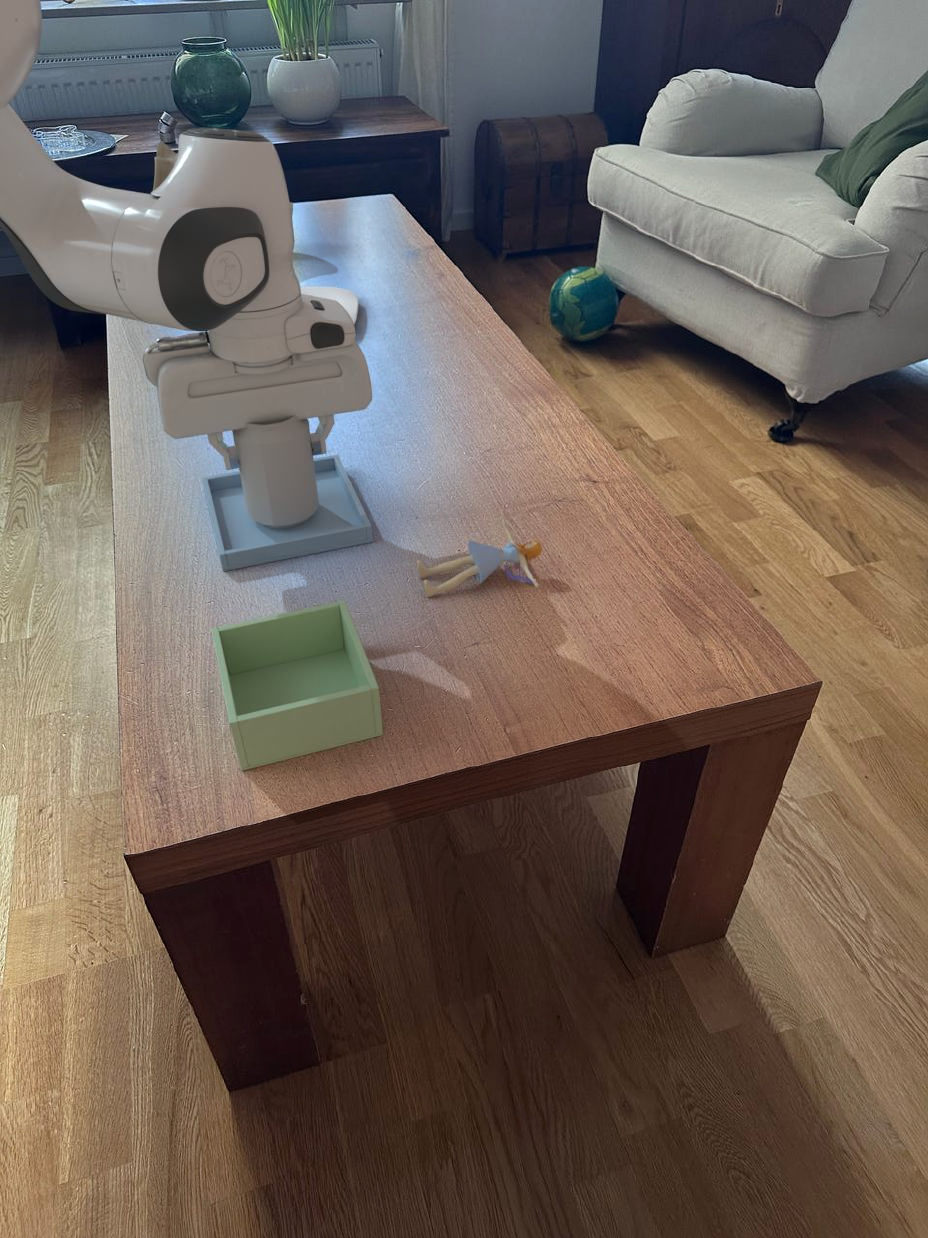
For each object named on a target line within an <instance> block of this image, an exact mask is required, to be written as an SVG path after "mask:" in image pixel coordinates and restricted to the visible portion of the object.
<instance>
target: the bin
mask: <svg viewBox="0 0 928 1238" xmlns="http://www.w3.org/2000/svg"><path fill="white" fill-rule="evenodd" d="M348 607H349V606H348V605H347V602H346V600H344V599H343V600H339V601H334V602H329V603H325V604H320V605H315V606H310V607H306V608H302V609H297V610H291V611H286V612H282V613H278V614H273V615H268V616H263V617H259V618H254V619H250V620H245V621H240V622H236V623H231V624H225V625H222V626H221V625H220V626H216V627H212V628H210V630H211V636H212V641H213V646H214V651H215V658H216V662H217V666H218V672H219V677H220V682H221V687H222V692H223V697H224V702H225V708H226V713H227V718H228V723H229V727H230V731H231V735H232V739H233V743H234V747H235V750H236V755H237V759H238V763H239V767H240V770H241V772H243V771H247V770H251V769H255V768H259V767H262V766H263V767H264V766H267V765H271V764H274V763H279V762H282V761H283V762H284V761H286V760H290V759H295V758H298V757H299V758H300V757H302V756H306V755H310V754H313V753H318V752H322V751H326V750H329V749H335V748H337V747H342V746H346V745H349V744H353V743H357V742H361V741H365V740H369V739H373V738H377V737H381V736H383V735H384V730H383V719H382V708H381V707H382V706H381V695H380V687H379V684H378V681H377V679H376V677H375V674H374V671H373V669H372V667H371V663H370V661H369V659H368V656H367V653H366V651H365V648H364V646H363V643H362V641H361V638H360V636H359V633H358V630H357V628H356V626H355V623H354V620H353V617H352V615H351V612H350V610H349V608H348Z"/></svg>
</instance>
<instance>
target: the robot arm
mask: <svg viewBox="0 0 928 1238" xmlns="http://www.w3.org/2000/svg"><path fill="white" fill-rule="evenodd" d="M42 13H43V12H42V3H41V0H0V228H1V230H2V231H3V233H4V234H5V235H6V237H8V239H9V241H10V243H11V244H12V246H13V247H14V249H15V251H16V252H17V255H18V257H19V258H20V260H21V262H22V264H23V265H24V268H25V269H26V272H27V273H28V275H29V276H30V278H31V280H32V281H33V282H34V283H35V285H36V287H38V289H39V291H41V292H42V294H43V295H44V296H45V297H47V298H48V299H49V300H50V301H51V302H52V303H54V304H55V305H57V306H59V307H61V308H63V309H65V310H69V311H73V312H77V313H78V312H79V313H88V314H96V315H108V316H113V317H118V318H123V319H127V320H132V321H136V322H140V323H143V324H148V325H156V326H161V327H166V328H171V329H176V330H180V331H187V332H193V333H187V334H183V335H180V336H173V337H172V336H163V337H159V338H157V339H155V342H154V343H152V344H150V345H149V346H148V347H146V349H145V350H144V352H143V355H142V363H143V368H144V371H145V375H146V378H147V380H148V381H149V382H150V383H151V384H152V385H153V386H155V387H156V394H157V402H158V403H157V404H158V409H159V416H160V419H161V420H160V421H161V425H162V429H163V432H164V433H165V434H167V435H168V436H169V437H171V438H172V439H174V440H180V439H186V438H193V437H199V436H205V435H206V436H207V439H208V443H209V445H211V447H212V448H213V449H215V450H216V452H218V454H219V455H220V456H221V457H222V458H223V463H224V467H225V470H226V471H231V470H235V469H236V470H237V469H239V468H240V463H239V455H238V453H237V451H236V448H235V445H230V446H229V445H227V444H226V443H225V442H224V435H223V433H224V432H230V431H231V432H232V430H238V429H244V428H247V426H246V425H245V424H246V423H252V424H259V425H265V424H271V423H277V422H283V421H286V420H288V419H290V418H291V417H293V416H298V417H297V418H296V420H302V419H308V420H309V419H313V418H317V419H318V421H319V423H318V425H317V427H316V429H315V432H310V436H311V447H312V455H313V457H314V456H319V455H321V456H322V455H325V454H328V453H327V442H326V440H327V439H328V438H329V435H330V433H331V431H332V430H333V427H334V426H335V415H339V414H345V413H352V412H358V411H364V410H366V409H367V408H368V407H369V406H370V404H371V402H372V400H373V388H372V380H371V376H370V370H369V366H368V363H367V362H368V361H367V359H366V356H365V354H364V352H363V351H362V348H361V347H360V345H359V343H358V341H356V338H357V337H356V336H357V333H356V327H355V325H354V323H353V321H352V319H351V317H350V315H349V314H348V312H347V311H346V310H345V308H344V307H343V306H342V305H341V304H340V303H338V302H337V301H335V300H331V299H326V298H321V297H316V296H311V295H306V294H301V288H300V286H301V284H300V281H299V279H298V276H297V274H296V272H295V267H294V250H295V243H296V241H295V231H294V230H295V229H294V223H293V222H294V221H293V215H292V214H291V207H290V203H291V202H290V201H291V200H290V197H289V191H288V188H287V187H288V185H287V181H286V177H285V173H284V169H283V166H282V163H281V159H280V157H279V154H278V151H277V149H276V147H275V145H274V143H273V142H272V141H271V140H270V139H268V138H266V137H265V136H264V135H262V134H260V133H257V132H254V131H246V130H238V129H232V128H227V129H226V128H219V127H203V126H202V127H192V128H188V129H187V130H185V131H182V132H181V133H180V134H179V136H178V152H179V156H178V159H177V161H176V163H175V165H174V167H173V169H172V171H171V172H170V174H169V175H168V177H167V178H166V179H165V181H164V182H163V183H162V184H161V185H160V186H159V187H158V188H157V189H155V190H154V191H153V190H152V191H151V192H150V193H144V192H137V191H131V190H126V189H120V188H114V187H108V186H104V185H101V184H97V183H93V182H91V181H87V180H85V179H82V178H80V177H77V176H75V175H73V174H71V173H69V172H68V171H65V170H64V169H62V168H61V167H60V166H58V164H57V163H56V162H55V160H53V158H52V157H51V156H50V155H49V153H48V152H47V151H46V150H45V148H44V147H43V146H42V144H41V143H40V142H39V141H38V139H37V138H36V137H35V136H34V134H33V133H32V132H31V130H30V129H29V128H28V126H27V125H26V124H25V122H23V120H22V119H21V118H20V116H19V115H18V114H17V113H16V111H15V110H14V108H13V107H12V106H11V105H10V104H9V103H11V102H12V100H13V99H14V98H15V96H17V94H18V92H20V90H21V88H22V87H23V86H24V84H25V82H26V80H27V79H28V77H29V75H30V74H31V71H33V70H32V69H33V68H34V65H35V63H36V60H37V57H38V54H39V50H40V46H41V39H42V33H43V14H42Z"/></svg>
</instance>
